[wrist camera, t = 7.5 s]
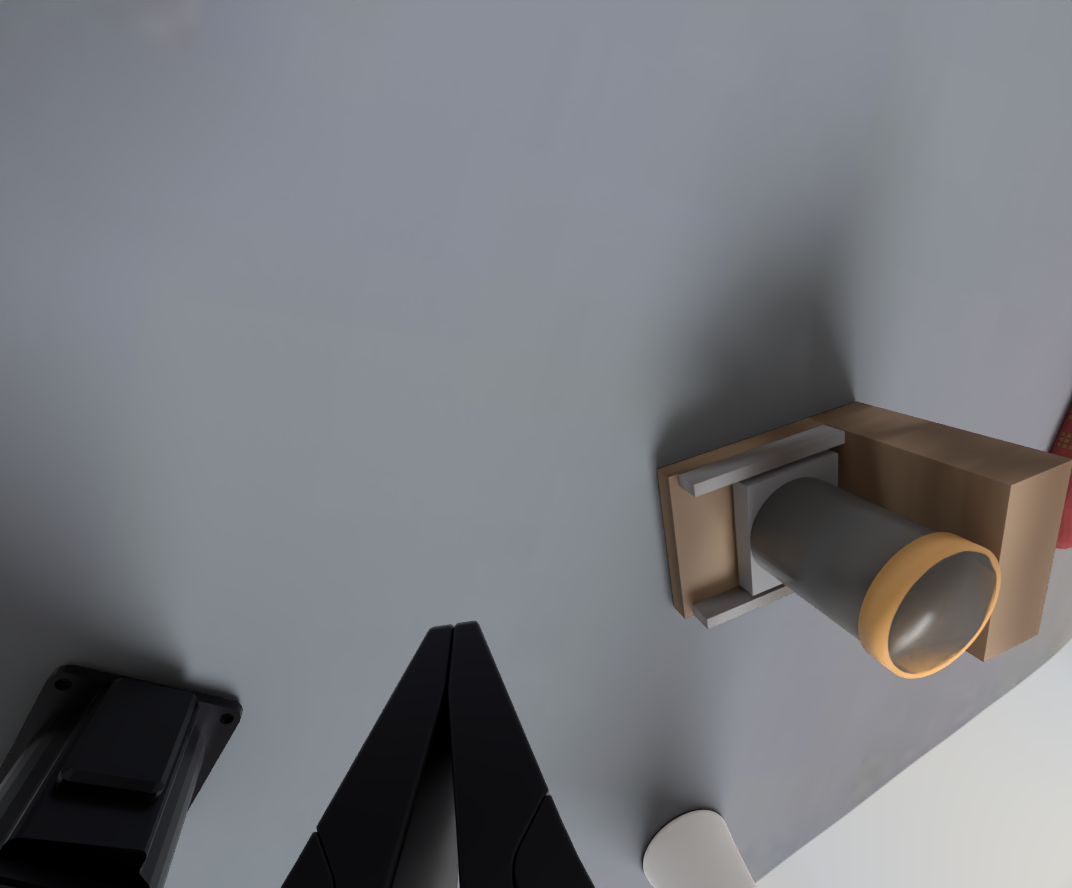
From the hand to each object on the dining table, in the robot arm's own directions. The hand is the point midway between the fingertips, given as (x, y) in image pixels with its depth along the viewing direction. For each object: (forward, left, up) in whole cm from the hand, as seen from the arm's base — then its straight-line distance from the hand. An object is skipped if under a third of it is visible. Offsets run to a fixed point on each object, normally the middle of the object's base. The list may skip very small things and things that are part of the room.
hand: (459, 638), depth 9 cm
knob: (+5, -17, -11) cm, 21 cm away
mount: (+6, -18, -12) cm, 23 cm away
